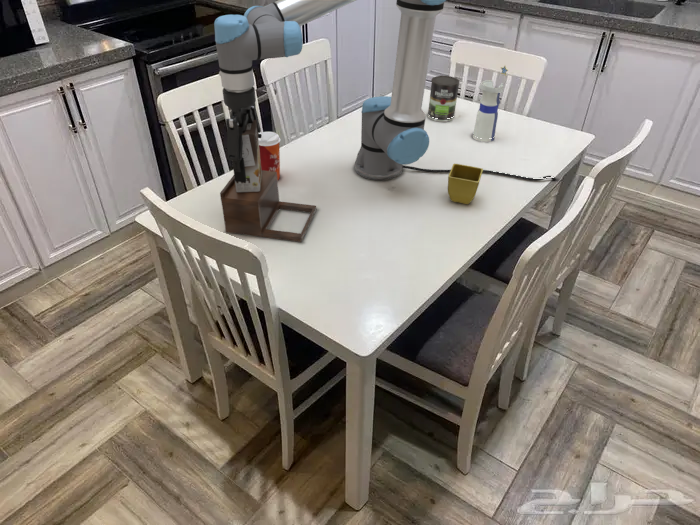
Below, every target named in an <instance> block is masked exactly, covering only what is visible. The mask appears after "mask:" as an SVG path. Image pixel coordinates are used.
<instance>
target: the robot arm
mask: <svg viewBox="0 0 700 525" xmlns="http://www.w3.org/2000/svg"><path fill="white" fill-rule="evenodd" d="M356 1H357V0H276V1H274V2H271V3H269V4H267V5H264V6H262V5H253V6H251V7H249V8H247V10H246V11H245V12H244V14H243V15H242V14H225V15H220V16H218V17H217V18H215V20H214V22H213V25H214V26H213V27H214V42H215V46H216V53H217V61H218V66H219V72H218V75H219V76H220V80H221V87H222V98H223V104H224V105H225V106H226V107H228V108H229V109H230V118H226V119H225V124H226V141H227V142H226V145H227V146H226V148H227V149H226V150H227V152H226V153H227V155H226V156H227V161H233V163H232V169H233V168H234V170H233V175H234V176H235V181H237V182H246V174H245V165H244V158H242V148H243V141H242V134H243V132H245V131H246V124H248V123H253V120H257V131H258V138H261V136H262V135H261V134H259V133H261V132H262V129H261V124H260V120H259V116H258V111H257V107H256V101H257V100H256V88H255V87H254V86H255V76H254V68H253V61H259V60H269V59H278V58H289V57H293V56H294V57H295V56H298V55H300V54H301V52H302V51H303V44H304V43H303V41H304V40H303V32H302V29H301V26H304V25H306V24H308V23H311V22H313V21H315V20H317V19H320V18H321V17H324V16H325V15H328V14H330V13H332V12H335V11H336V10H338V9H340V8H343V7H345V6H347V5H350V4H351V3H354V2H356ZM446 1H447V0H396V3H395V4H396V7H397V9H398V10H399V11H400V19H399V20H400V21H399V30H398V36H397V37H398V38H397V46H396V53H395V54H396V56H395V65H394V70H393V71H394V72H393V81H392V88H391V96H388V95H387V96H385V95H382V96H374V97H369V98H367V99H365V100H364V101H363V102H362V104H361V129H360V130H361V132H360V133H361V138H360V139H361V142H360V147H359V150H358V152H357V155H356V158H355V161H354V170H355V172H356V174H358V175H359V176H360V177H362V178H365V179H368V180H372V181H388V180H392V179H395V178H397V177H399V176H400V175H401V174H402V172H403V169H407V170H412V171H417V172H424V173H425V172H426V173H450V171H451V169H429V168H421V167H415V166H410V165H411V164H414V163H415V162H417V161H419V160H420V158H422V157H424V155H425V154H426V152H427V151H428V148H429V146H430V136H429V134H428V132H427V130H425V124H426V118H427V115H426V113H425V111H424V110H423V109H422V108H423V102H424V94H425V89H426V82H427V75H428V69H429V63H430V55H431V51H432V50H431V49H432V42H433V35H434V29H435V23H436V17H437V16H438V15H439V14H440V13H442V12H443V11H444V6H445V2H446ZM239 127H242V128H239ZM239 134H240V135H239ZM493 171H494V170H489V169H488V170H487V169H483V172H482V174H483V173H485V174H492V175H499V176H504V177H510V178H514V179H521V180H525V181H532V182H538V181H539V182H540V181H543V180H547V179H548V178H546V177H551V176H552V175H544V176H542V177H543V178H546V179H533V178H534V177H528V178H526V177H527V176H523V177H521V176H522V175H518V176H516V175H517V174H513V175H510V174H511V173H507V174H505V173H506V172H502V173H499V172H500V171H496V172H493ZM553 177H554V178H550V179H551V180H552V181H554V182H556V181H557V178H556V177H555V176H553Z"/></svg>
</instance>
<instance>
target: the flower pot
mask: <svg viewBox="0 0 700 525" xmlns="http://www.w3.org/2000/svg"><path fill="white" fill-rule="evenodd" d="M450 170H451V171H450V172H448V176H447V194H448V197H449V199H450V201H451V202H455V203H459V204H465V205H469V204H470V203H471V202H472V201H473V200H474V199H475V197H476V194H477V191H478V188H479V185H480V182H481V178H482V175H483V170H484V168H481V167H478V166H472V165H467V164H466V165H465V164H460V163H453V164H452V166H451V168H450Z"/></svg>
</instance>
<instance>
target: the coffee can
mask: <svg viewBox="0 0 700 525" xmlns="http://www.w3.org/2000/svg"><path fill="white" fill-rule="evenodd" d="M430 82H431V85H430V93H429V100H428V101H429V102H428V110H427V117H428V119H430V120H431V121H434V122H440V123H446V122H451V121H453V120H455V113H456V107H457V100H458V93H459V85H460V79H459V78H457V77H454V76H449V75H437V76H434V77H432V78H431V81H430ZM428 114H429V115H430V116H429V115H428ZM453 116H454V117H453ZM432 117H434V118H432ZM451 117H453V118H451ZM435 118H438V119H435ZM447 118H450V119H447Z"/></svg>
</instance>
